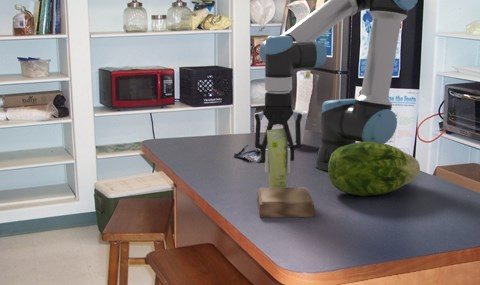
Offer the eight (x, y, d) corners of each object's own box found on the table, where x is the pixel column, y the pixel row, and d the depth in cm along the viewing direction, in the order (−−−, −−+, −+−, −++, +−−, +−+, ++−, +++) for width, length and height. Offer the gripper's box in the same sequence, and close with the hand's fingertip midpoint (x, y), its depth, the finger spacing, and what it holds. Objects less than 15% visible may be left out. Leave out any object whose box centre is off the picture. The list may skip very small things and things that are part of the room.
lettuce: (427, 200, 176) (431, 146, 173) (335, 203, 173) (337, 148, 170) (407, 185, 191) (410, 135, 187) (322, 188, 188) (323, 137, 184)
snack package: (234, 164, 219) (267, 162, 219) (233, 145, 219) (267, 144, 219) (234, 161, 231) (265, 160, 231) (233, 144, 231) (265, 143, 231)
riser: (307, 200, 176) (307, 186, 175) (313, 216, 162) (314, 202, 161) (257, 200, 175) (257, 187, 175) (259, 217, 162) (259, 202, 161)
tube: (283, 198, 178) (284, 130, 174) (266, 196, 179) (266, 129, 175) (288, 192, 183) (288, 127, 179) (271, 191, 185) (271, 126, 181)
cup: (308, 147, 243) (309, 113, 240) (282, 147, 243) (283, 113, 241) (306, 141, 253) (306, 109, 250) (281, 141, 253) (281, 109, 250)
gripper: (309, 89, 179) (308, 168, 184) (244, 90, 179) (244, 168, 184) (313, 93, 172) (311, 175, 176) (245, 93, 171) (245, 175, 176)
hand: (277, 171), depth 180 cm, fingers closed on tube, 6 cm apart
